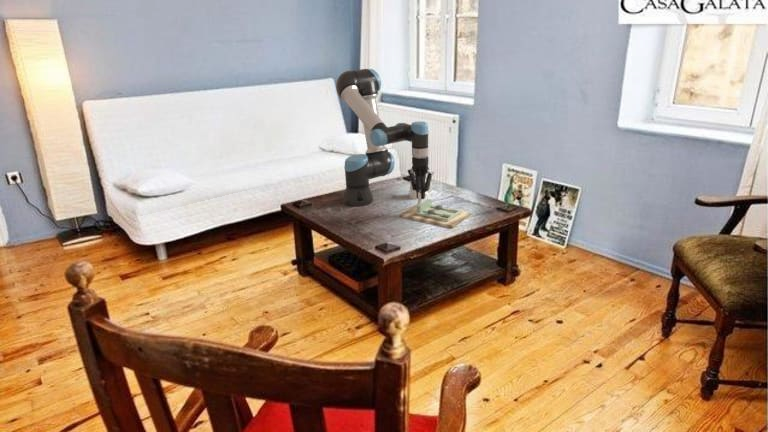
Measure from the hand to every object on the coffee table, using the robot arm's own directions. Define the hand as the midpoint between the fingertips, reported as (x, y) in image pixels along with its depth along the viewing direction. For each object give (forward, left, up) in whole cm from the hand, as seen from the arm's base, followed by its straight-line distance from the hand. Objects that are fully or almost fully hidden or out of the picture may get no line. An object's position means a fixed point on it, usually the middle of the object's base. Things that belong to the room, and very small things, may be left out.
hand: (420, 204), depth 237 cm
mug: (-12, +20, -4) cm, 24 cm away
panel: (+9, 0, -3) cm, 10 cm away
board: (+8, 0, -4) cm, 9 cm away
